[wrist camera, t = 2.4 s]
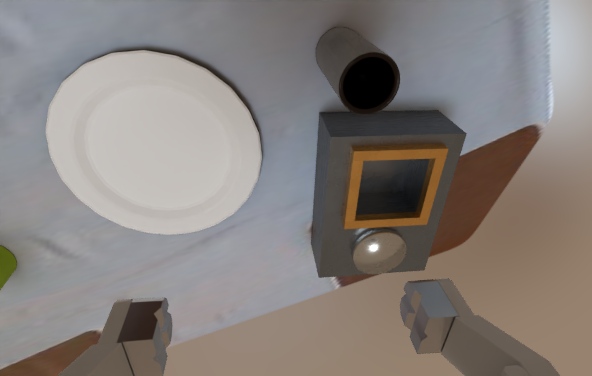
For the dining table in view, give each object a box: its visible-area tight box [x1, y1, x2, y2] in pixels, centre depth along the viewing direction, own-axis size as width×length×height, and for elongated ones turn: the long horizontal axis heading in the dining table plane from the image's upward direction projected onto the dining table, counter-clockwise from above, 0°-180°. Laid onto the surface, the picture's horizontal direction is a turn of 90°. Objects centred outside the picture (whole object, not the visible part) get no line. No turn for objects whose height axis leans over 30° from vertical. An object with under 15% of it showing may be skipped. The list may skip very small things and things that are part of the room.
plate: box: [45, 50, 262, 235], centre depth 37 cm, size 21×21×2 cm
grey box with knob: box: [311, 110, 466, 278], centre depth 40 cm, size 18×13×7 cm
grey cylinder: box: [316, 27, 400, 114], centre depth 30 cm, size 4×4×10 cm
